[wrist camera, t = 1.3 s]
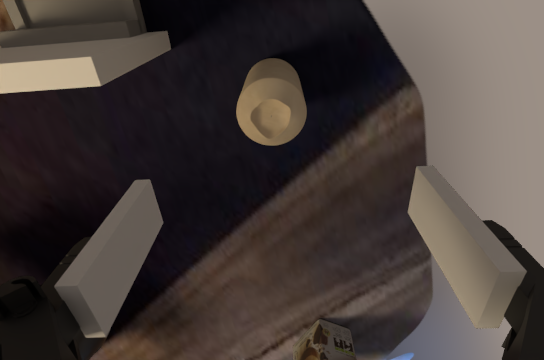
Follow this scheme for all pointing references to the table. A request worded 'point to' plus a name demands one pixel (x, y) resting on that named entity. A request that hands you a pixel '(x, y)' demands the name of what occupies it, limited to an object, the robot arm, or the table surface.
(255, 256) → the table surface
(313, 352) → the coffee box
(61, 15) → the tablet stand
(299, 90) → the candle
